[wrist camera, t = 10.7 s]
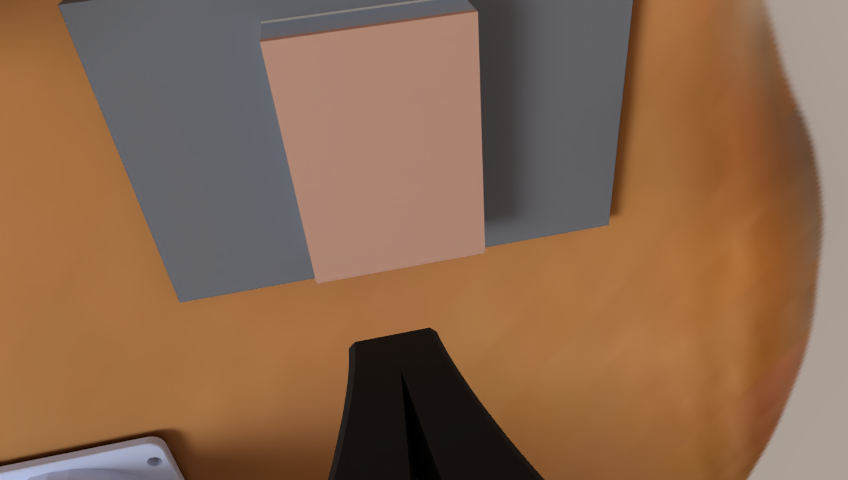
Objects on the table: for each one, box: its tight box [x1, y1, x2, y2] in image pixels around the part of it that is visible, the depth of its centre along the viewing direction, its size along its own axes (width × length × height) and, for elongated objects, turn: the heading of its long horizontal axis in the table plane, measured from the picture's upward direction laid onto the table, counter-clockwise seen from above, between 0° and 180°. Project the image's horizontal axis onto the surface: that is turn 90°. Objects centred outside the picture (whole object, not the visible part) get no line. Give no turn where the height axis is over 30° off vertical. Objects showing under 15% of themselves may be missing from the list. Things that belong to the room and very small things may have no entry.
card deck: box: [260, 0, 485, 284], centre depth 17 cm, size 7×2×5 cm
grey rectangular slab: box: [58, 0, 633, 302], centre depth 18 cm, size 9×14×1 cm, turn 95°
